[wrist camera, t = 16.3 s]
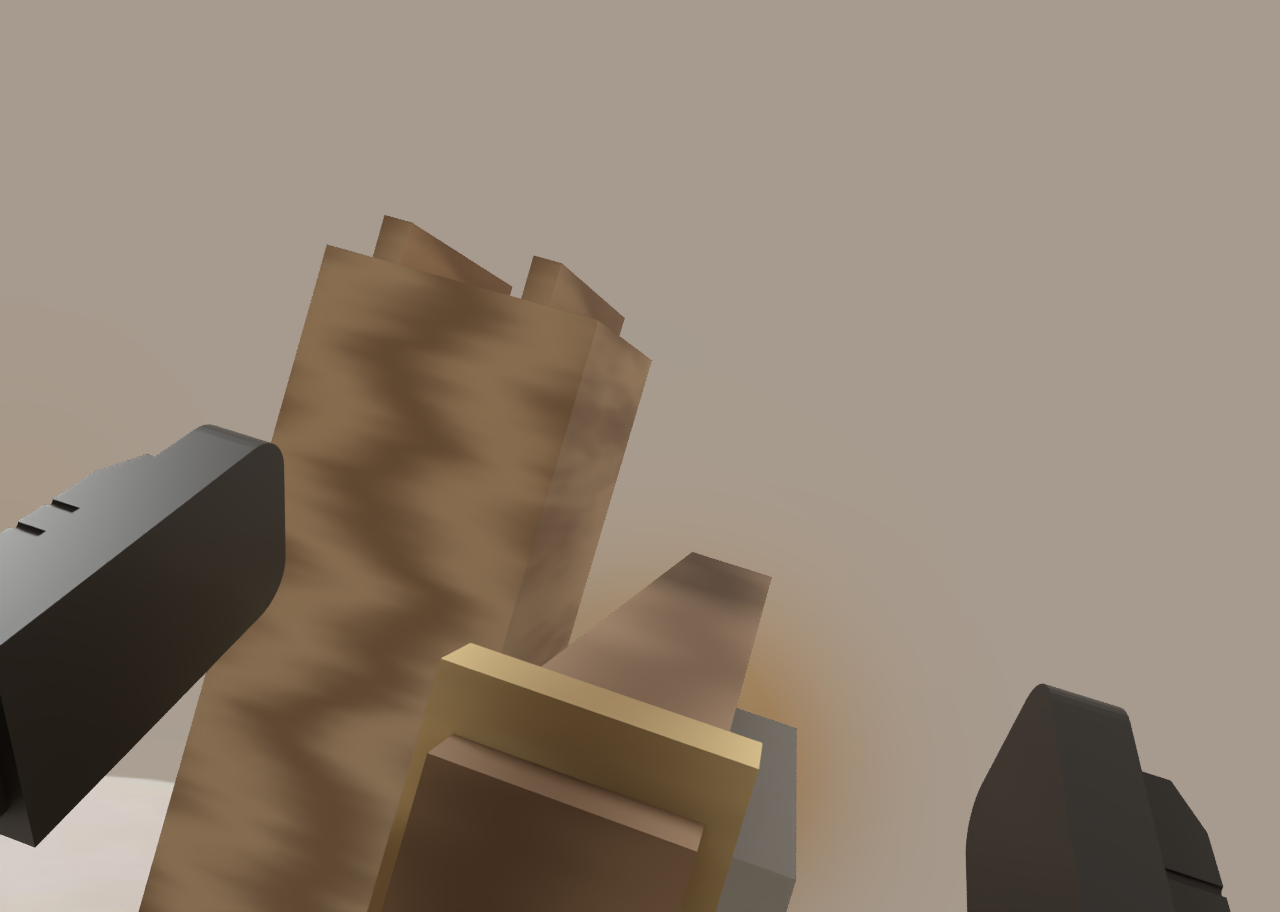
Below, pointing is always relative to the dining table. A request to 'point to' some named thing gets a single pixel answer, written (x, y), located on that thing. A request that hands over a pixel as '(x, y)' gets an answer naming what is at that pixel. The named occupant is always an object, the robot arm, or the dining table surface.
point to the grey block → (765, 823)
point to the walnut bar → (586, 763)
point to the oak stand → (396, 558)
